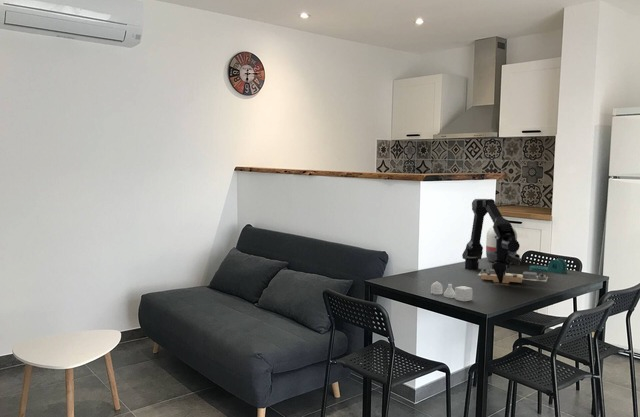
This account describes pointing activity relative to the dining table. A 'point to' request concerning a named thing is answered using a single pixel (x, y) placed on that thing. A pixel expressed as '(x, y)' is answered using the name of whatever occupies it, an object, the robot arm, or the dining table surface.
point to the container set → (459, 293)
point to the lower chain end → (488, 271)
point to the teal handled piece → (552, 266)
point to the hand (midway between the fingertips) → (501, 281)
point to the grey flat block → (533, 275)
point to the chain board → (522, 277)
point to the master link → (505, 278)
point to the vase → (493, 244)
